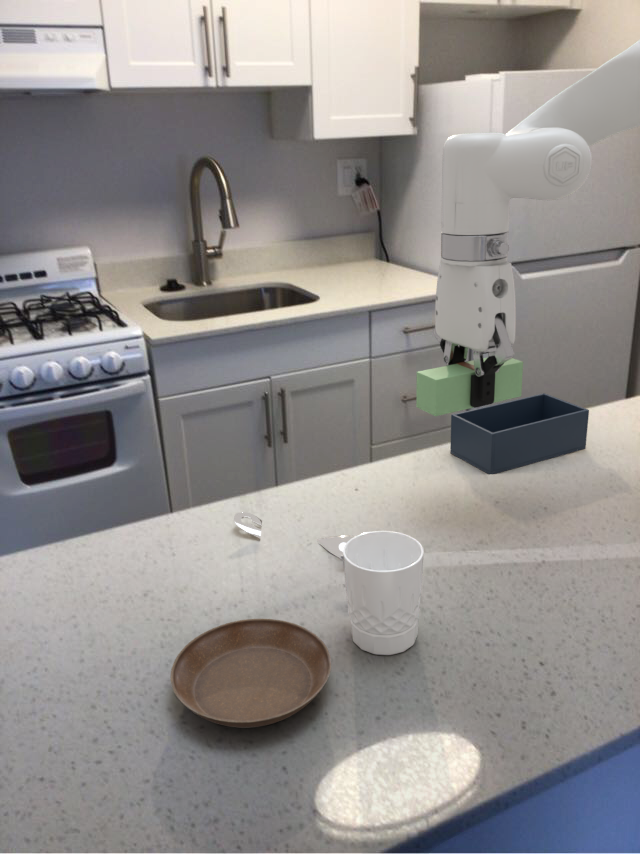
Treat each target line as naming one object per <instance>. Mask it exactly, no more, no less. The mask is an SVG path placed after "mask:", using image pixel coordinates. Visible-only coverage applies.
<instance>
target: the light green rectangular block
mask: <svg viewBox="0 0 640 854" xmlns="http://www.w3.org/2000/svg"><path fill="white" fill-rule="evenodd" d="M487 358H488V357H483V360H484V361H485V360H486V359H487ZM447 365H448V364H447ZM447 365H444V366H439V367H434V368H429V369H424V370H418V371H416V388H415V389H416V392H415V393H416V395H415V397H416V404H415V405H416V408H418V409H419V410H422V411H423V412H426V413H428V414H429V415H432V416H434V417H439V416H444V415H448V414H453V413H458V412H459V411H460V412H462V411H466V410H471V409H473V408H474V407H472V406H471V405H470V391H471V375H475V370H474V359H473V360H469V361H468V362H466V361H465V362H461V363H457V364H453V365H448V366H447ZM523 372H524V361H522V360H520V359H516V358H514V357H513V358H512V359H510V360H508V361H507V362H504V364H503V365H502V366H501V367H500V369H499V372H498V373H495V394H494V402H493V403H492V404H494V403H500V402H503V401H504V402H505V401H507V400H508V401H509V400H511V399H512V400H513V399H518V398H520V397H521V398H522V394H523V393H522V391H523V374H524V373H523ZM474 409H475V408H474Z"/></svg>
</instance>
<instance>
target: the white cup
mask: <svg viewBox="0 0 640 854" xmlns="http://www.w3.org/2000/svg"><path fill="white" fill-rule="evenodd" d="M424 553H425V549H424V546H423V545H422V544H421V542H420V541H419V540H418V539H416V538H415V537H413V536H412V535H409V534H406V533H403V532H399V531H392V530H374V531H373V530H372V531H366V532H363V533H360V534H358V535H355V537H353V538H352V539H350V540H349V541H348V542H347V543H346V544H345V546H344V548H343V559H342V560H343V569H344V570H343V571H344V583H345V592H346V602H347V603H346V604H347V612H348V616H349V623H350V633H351V638H352V642H353V643H354V645H356V646H357V647H358V648H359V649H360V650H362V651H365V652H367V653H370V654H373V655H379V656H392V655H396V654H400V653H404V652H405V651H407V650H409V648H410V649H411V647H412V646H414V645H415V642H416V640H417V637H418V633H419V618H420V612H421V599H422V589H423V588H422V587H423V571H424V570H423V569H424V556H425V555H424Z"/></svg>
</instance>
